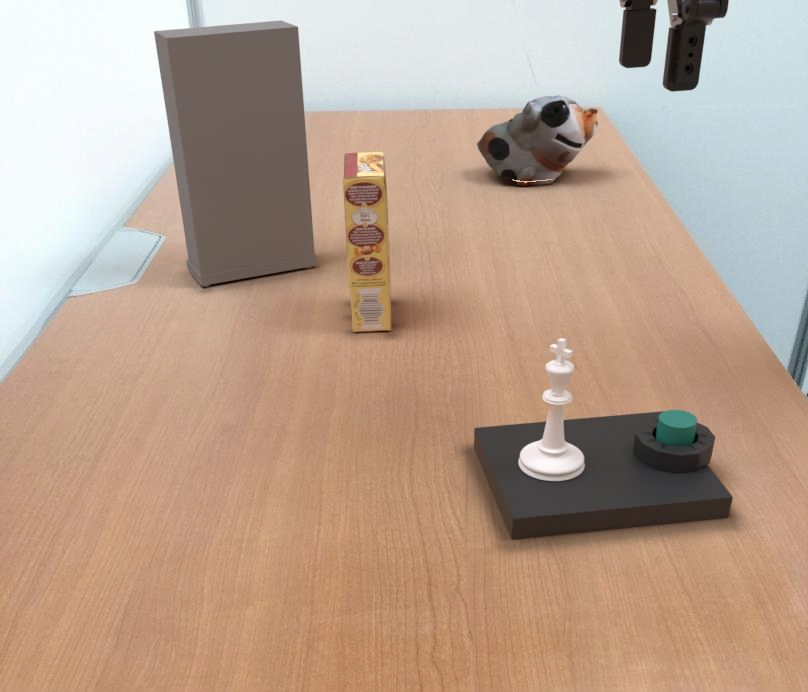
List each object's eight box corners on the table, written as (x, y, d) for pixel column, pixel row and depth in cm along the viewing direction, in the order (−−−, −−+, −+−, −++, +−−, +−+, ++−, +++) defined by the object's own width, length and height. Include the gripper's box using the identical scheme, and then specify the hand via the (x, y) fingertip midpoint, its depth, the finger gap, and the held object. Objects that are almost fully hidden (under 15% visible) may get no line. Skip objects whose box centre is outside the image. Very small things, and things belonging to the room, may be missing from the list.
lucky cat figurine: (540, 158, 148) (589, 75, 139) (573, 208, 143) (626, 126, 133) (462, 141, 140) (508, 52, 131) (492, 194, 135) (543, 105, 125)
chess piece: (547, 440, 74) (557, 319, 69) (598, 464, 71) (613, 339, 66) (504, 463, 72) (511, 339, 66) (555, 489, 69) (567, 361, 63)
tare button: (685, 428, 73) (688, 407, 72) (699, 446, 71) (703, 425, 70) (650, 431, 73) (653, 411, 72) (663, 449, 71) (667, 429, 70)
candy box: (392, 332, 96) (388, 175, 87) (350, 333, 96) (341, 176, 87) (389, 298, 103) (385, 150, 94) (350, 300, 103) (342, 151, 94)
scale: (672, 430, 79) (679, 392, 77) (739, 517, 69) (749, 476, 67) (473, 448, 77) (474, 409, 75) (511, 540, 67) (514, 499, 65)
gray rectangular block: (299, 251, 116) (279, 19, 101) (317, 267, 111) (300, 26, 97) (187, 271, 111) (150, 30, 97) (201, 288, 107) (165, 38, 92)
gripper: (806, -228, 52) (752, 95, 62) (700, -214, 63) (668, 56, 73) (674, -223, 51) (640, 103, 61) (590, -210, 62) (573, 63, 72)
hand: (655, 77), depth 67 cm, fingers open, 8 cm apart
